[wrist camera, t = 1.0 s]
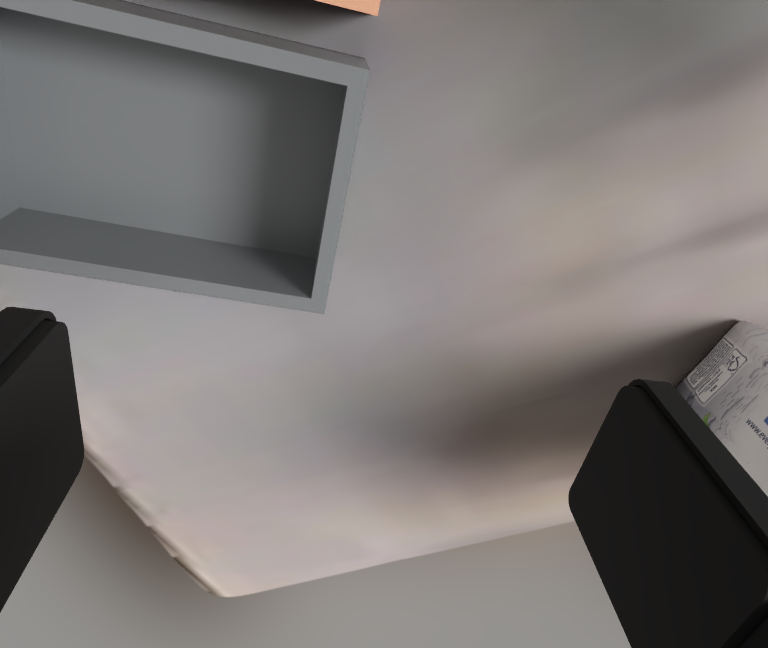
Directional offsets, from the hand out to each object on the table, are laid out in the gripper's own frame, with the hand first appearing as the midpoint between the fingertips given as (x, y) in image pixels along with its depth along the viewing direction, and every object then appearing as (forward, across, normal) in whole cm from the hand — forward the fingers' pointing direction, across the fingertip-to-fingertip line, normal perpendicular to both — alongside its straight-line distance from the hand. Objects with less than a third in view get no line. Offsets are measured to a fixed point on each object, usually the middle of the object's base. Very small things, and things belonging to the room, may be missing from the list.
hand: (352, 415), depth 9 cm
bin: (+24, +9, +2) cm, 25 cm away
